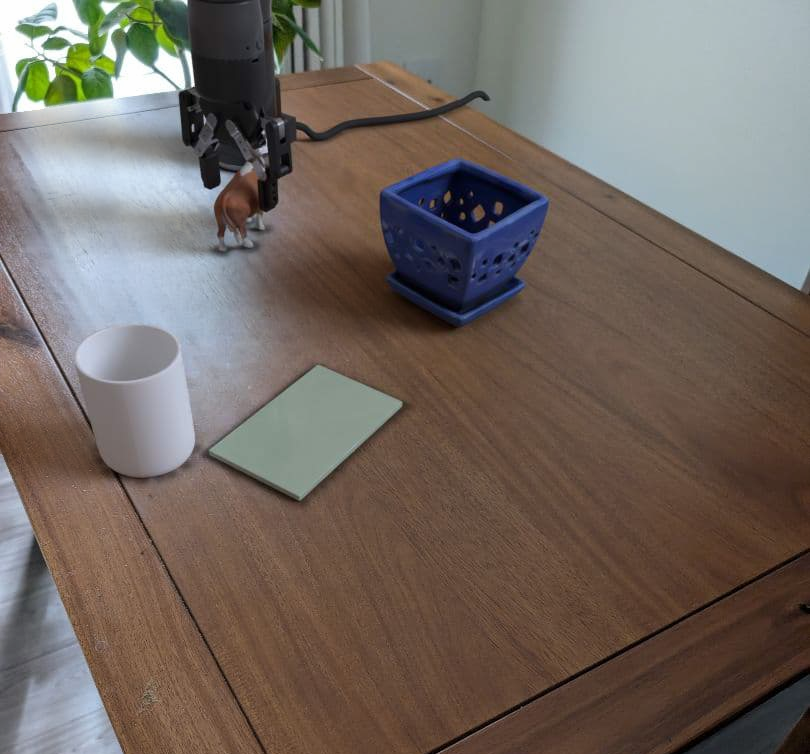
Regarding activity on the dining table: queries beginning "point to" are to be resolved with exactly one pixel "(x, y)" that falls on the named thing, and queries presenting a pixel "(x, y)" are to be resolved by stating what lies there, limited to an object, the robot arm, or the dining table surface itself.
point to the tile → (306, 431)
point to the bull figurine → (239, 206)
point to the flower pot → (459, 238)
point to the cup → (136, 398)
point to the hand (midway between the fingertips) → (240, 198)
